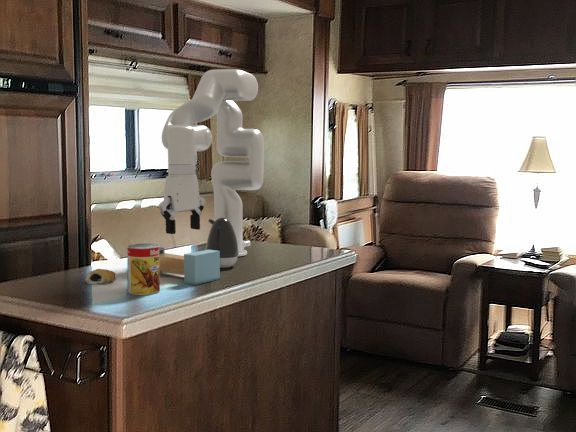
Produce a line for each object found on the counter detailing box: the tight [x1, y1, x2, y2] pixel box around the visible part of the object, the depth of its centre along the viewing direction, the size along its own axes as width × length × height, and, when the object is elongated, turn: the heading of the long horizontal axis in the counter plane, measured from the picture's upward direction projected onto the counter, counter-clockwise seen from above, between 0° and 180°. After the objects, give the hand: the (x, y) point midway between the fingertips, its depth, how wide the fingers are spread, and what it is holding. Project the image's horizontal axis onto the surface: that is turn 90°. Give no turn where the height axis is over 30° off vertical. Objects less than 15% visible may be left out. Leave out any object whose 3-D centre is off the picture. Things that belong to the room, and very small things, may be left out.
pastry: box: [84, 268, 116, 285], centre depth 193 cm, size 9×7×4 cm
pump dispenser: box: [205, 218, 239, 269], centre depth 215 cm, size 10×10×15 cm
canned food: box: [127, 242, 161, 296], centre depth 179 cm, size 8×8×12 cm
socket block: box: [183, 249, 221, 286], centre depth 193 cm, size 10×4×8 cm, turn 144°
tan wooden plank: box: [159, 252, 184, 276], centre depth 199 cm, size 5×20×5 cm, turn 54°
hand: (183, 231), depth 197 cm, fingers open, 9 cm apart
